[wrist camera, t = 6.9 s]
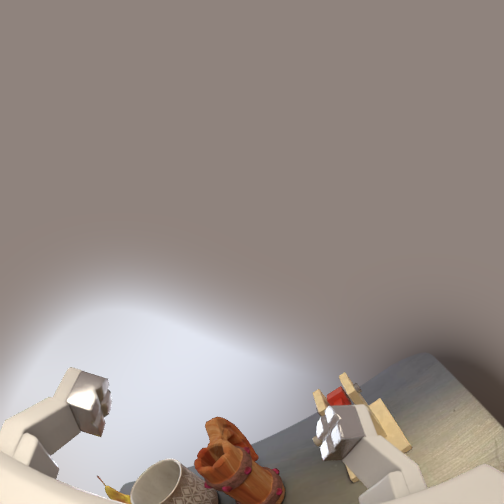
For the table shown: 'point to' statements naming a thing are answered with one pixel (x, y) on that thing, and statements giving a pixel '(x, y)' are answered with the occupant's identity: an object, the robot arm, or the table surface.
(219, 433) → the mug
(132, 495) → the planter
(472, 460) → the table surface
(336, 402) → the lever
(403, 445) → the wooden lever stand
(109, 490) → the fruit
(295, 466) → the table surface
